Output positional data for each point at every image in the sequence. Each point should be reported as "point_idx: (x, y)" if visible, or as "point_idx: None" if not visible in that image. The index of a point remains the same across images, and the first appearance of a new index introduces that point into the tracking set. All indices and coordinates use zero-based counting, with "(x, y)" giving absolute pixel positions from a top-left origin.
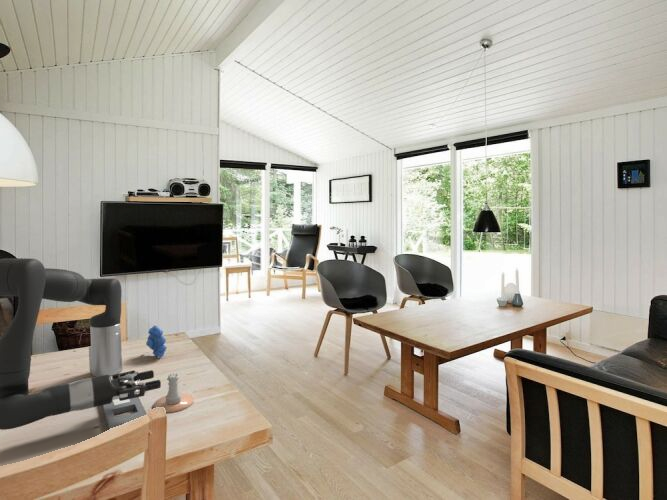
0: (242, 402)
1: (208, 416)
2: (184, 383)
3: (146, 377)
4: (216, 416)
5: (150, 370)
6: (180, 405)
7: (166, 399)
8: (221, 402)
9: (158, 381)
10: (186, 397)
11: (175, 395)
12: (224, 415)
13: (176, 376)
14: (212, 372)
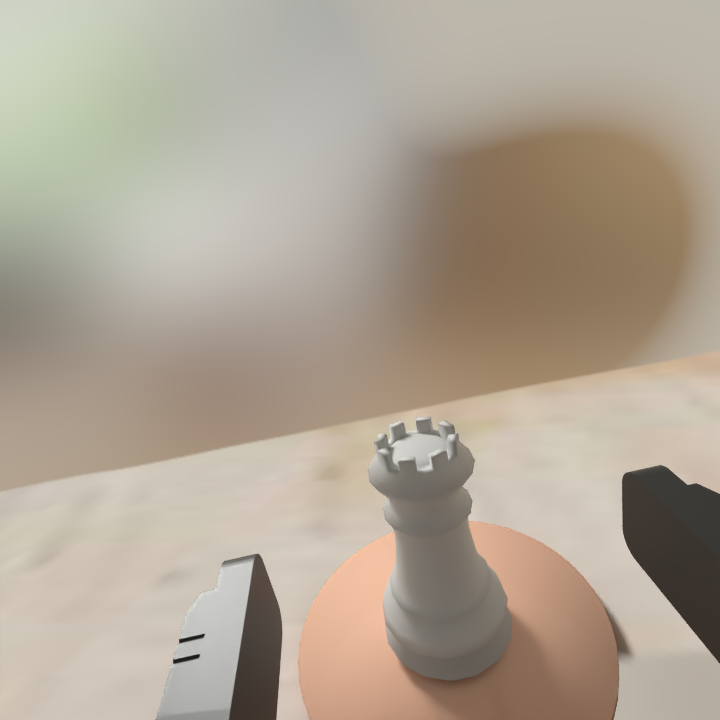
0: (548, 387)
1: (698, 472)
2: (156, 577)
3: (267, 686)
4: (698, 446)
5: (220, 576)
6: (537, 586)
7: (476, 651)
8: (524, 436)
9: (672, 480)
10: None
11: (486, 564)
12: (685, 424)
13: (444, 426)
14: (146, 470)
